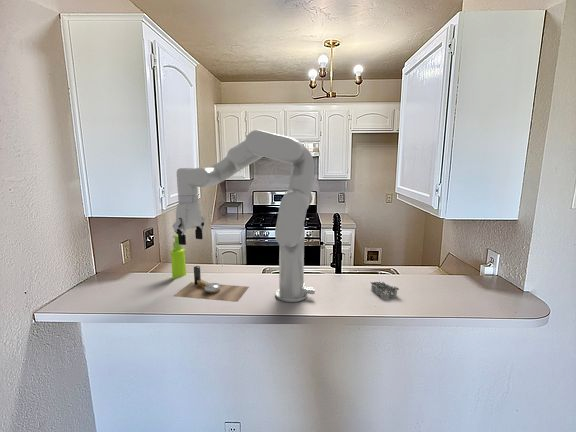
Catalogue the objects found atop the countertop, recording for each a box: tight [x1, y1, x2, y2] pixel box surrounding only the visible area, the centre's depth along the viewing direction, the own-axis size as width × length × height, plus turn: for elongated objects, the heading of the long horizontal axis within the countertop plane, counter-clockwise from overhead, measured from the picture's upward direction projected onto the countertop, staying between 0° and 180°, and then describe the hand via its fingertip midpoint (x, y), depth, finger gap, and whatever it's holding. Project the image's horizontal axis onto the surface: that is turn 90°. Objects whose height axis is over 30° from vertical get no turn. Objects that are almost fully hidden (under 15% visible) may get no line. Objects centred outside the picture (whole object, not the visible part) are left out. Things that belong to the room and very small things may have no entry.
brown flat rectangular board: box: [173, 281, 250, 303], centre depth 120 cm, size 26×14×2 cm, turn 79°
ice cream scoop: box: [193, 265, 221, 294], centre depth 123 cm, size 15×6×7 cm, turn 48°
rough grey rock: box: [370, 281, 400, 300], centre depth 122 cm, size 11×8×4 cm
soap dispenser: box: [170, 233, 187, 280], centre depth 138 cm, size 6×7×20 cm
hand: (191, 241), depth 122 cm, fingers open, 9 cm apart
